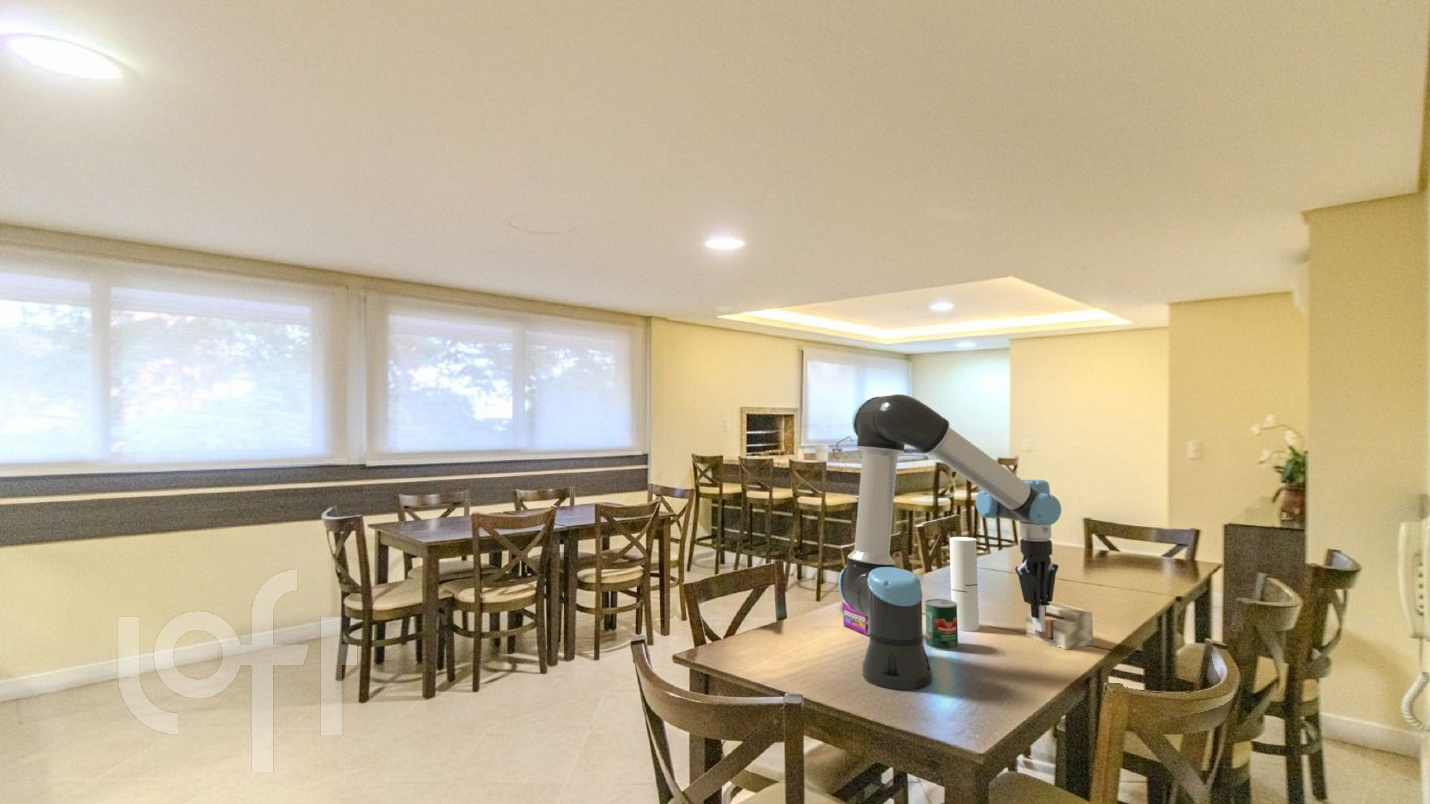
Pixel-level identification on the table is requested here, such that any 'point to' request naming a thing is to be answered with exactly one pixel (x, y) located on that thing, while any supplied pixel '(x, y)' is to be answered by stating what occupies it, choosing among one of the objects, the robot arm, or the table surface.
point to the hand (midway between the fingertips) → (1039, 630)
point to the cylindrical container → (964, 582)
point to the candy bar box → (855, 620)
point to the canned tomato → (941, 624)
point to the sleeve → (1065, 626)
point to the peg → (1047, 627)
